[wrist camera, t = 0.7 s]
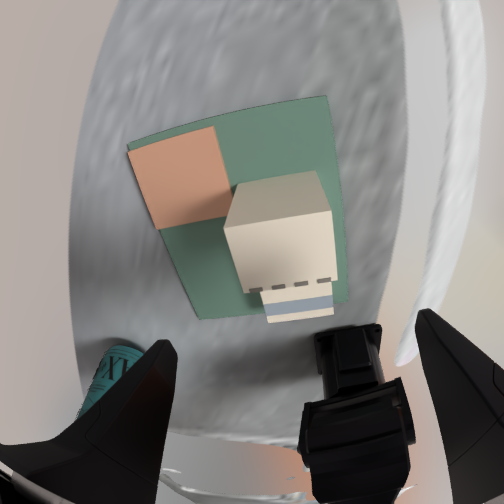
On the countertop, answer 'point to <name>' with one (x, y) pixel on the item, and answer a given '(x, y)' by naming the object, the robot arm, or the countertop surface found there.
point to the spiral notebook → (298, 302)
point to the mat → (251, 169)
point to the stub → (281, 233)
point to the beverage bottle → (109, 372)
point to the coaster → (183, 178)
